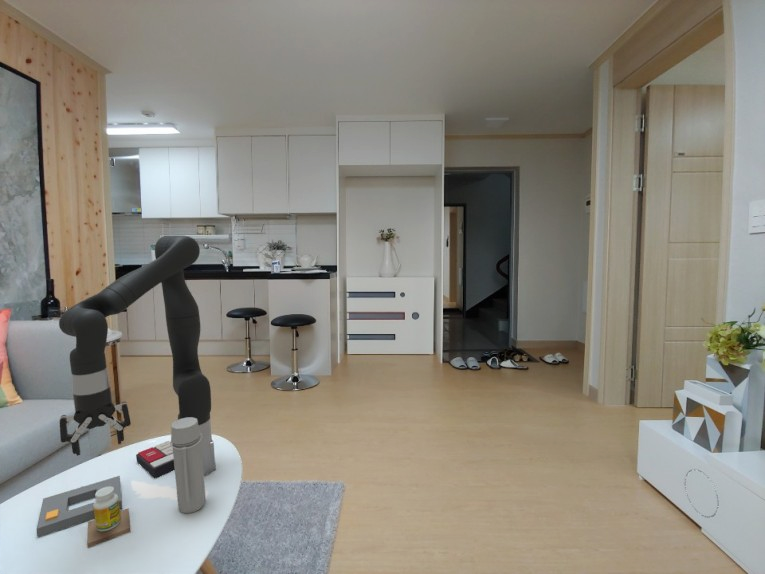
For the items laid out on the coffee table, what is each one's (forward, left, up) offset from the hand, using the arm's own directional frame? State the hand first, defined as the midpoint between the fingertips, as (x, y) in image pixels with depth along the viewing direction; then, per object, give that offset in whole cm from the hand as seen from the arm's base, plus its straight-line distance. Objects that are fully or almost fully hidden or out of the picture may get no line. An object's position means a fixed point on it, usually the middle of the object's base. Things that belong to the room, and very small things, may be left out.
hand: (99, 448), depth 101 cm
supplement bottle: (0, +1, -21) cm, 21 cm away
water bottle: (-19, +5, -23) cm, 30 cm away
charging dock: (+6, -13, -22) cm, 27 cm away
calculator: (-15, -25, -23) cm, 37 cm away
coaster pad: (0, +1, -22) cm, 22 cm away
